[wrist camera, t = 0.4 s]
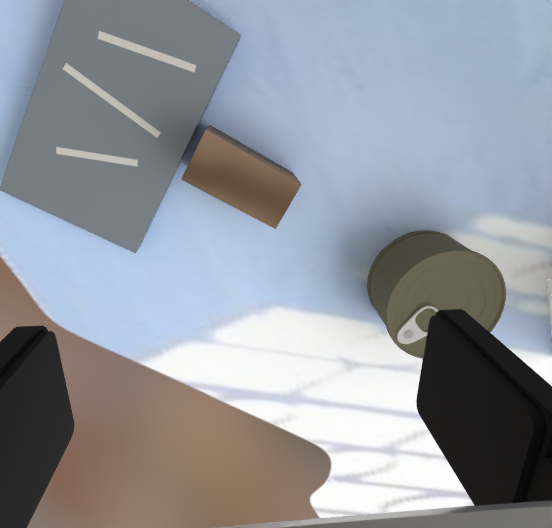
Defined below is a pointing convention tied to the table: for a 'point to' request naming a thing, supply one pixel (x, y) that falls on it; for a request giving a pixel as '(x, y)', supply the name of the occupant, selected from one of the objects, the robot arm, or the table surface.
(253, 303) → the table surface
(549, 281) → the milk
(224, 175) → the block
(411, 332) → the can
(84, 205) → the board
